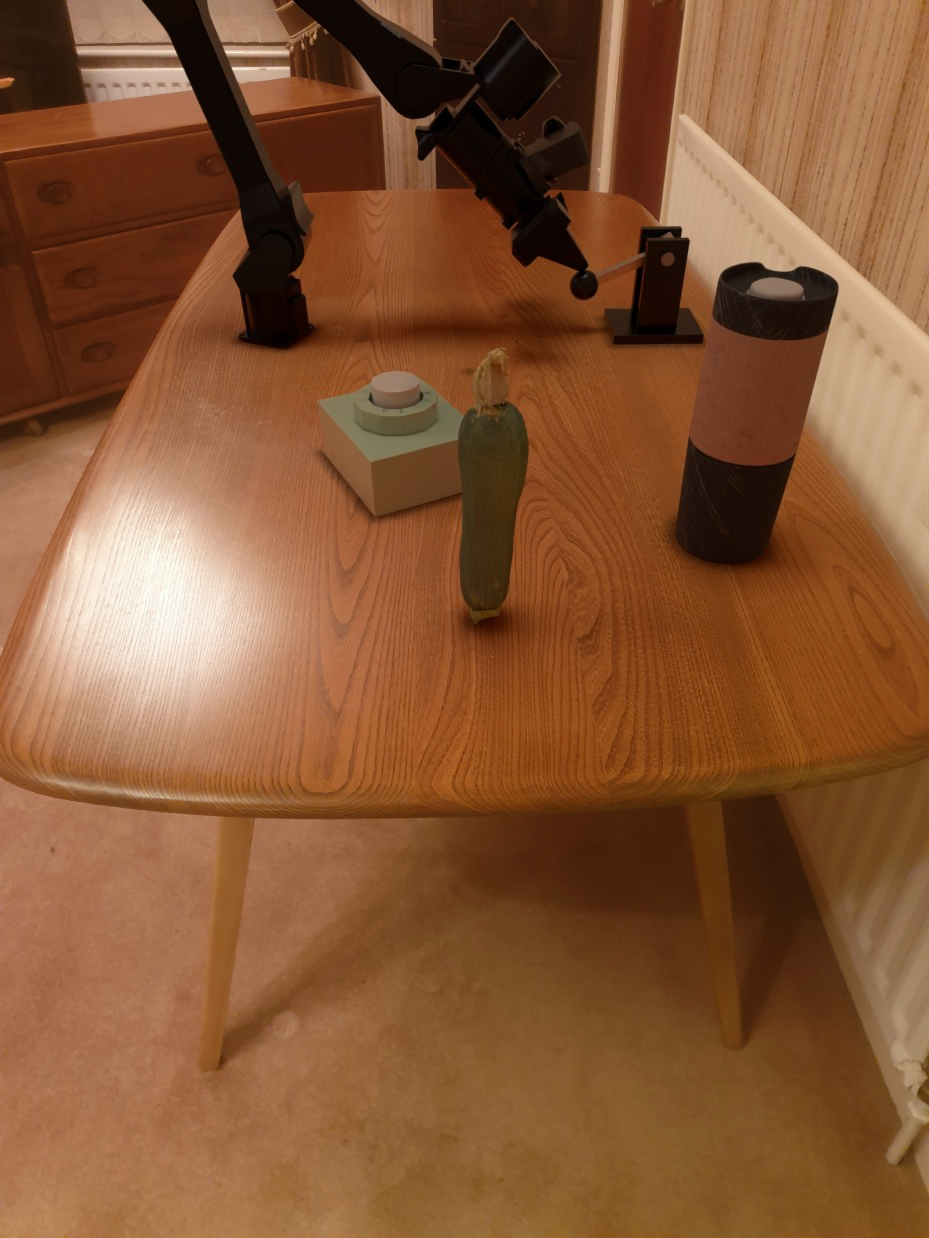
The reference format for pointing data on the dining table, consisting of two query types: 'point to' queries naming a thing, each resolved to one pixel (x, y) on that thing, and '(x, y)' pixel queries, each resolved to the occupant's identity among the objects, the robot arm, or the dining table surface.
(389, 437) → the push button box
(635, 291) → the bracket
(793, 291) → the travel mug
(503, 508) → the vegetable
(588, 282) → the lever
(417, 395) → the pink push button
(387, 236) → the dining table surface
